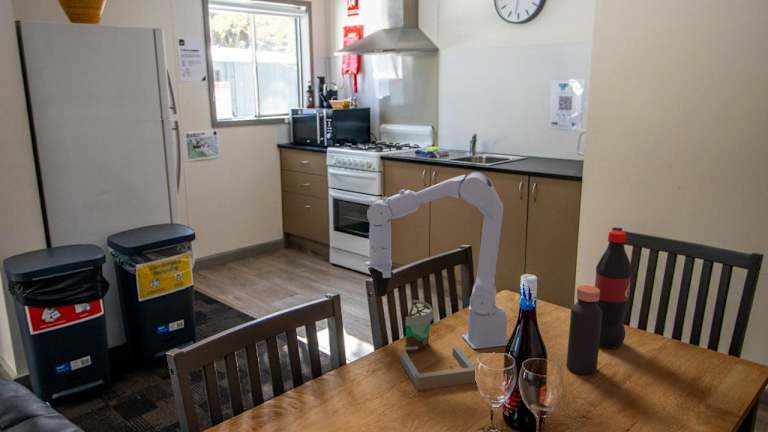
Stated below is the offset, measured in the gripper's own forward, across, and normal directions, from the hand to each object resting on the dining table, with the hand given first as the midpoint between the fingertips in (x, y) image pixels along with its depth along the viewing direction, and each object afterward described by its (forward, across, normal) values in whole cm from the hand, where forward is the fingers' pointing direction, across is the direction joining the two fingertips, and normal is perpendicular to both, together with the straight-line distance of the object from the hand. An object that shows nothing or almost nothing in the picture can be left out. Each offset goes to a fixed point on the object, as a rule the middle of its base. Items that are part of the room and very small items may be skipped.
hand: (380, 294), depth 149 cm
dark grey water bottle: (+11, +32, +41) cm, 53 cm away
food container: (+11, +11, +8) cm, 17 cm away
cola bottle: (+11, +22, +55) cm, 60 cm away
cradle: (+10, +24, +8) cm, 27 cm away
